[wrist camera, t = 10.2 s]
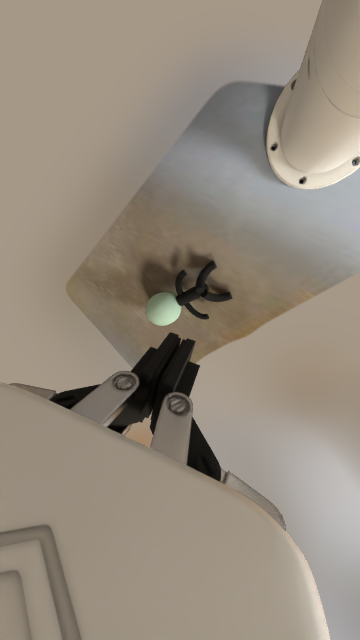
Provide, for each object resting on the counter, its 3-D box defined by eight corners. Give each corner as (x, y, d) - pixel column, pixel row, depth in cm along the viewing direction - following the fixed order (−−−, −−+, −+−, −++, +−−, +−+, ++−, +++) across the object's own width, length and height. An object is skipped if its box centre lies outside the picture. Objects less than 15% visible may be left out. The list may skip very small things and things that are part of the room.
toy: (210, 252, 34) (142, 292, 40) (207, 257, 29) (129, 301, 35) (234, 300, 37) (167, 331, 42) (236, 313, 31) (159, 346, 37)
